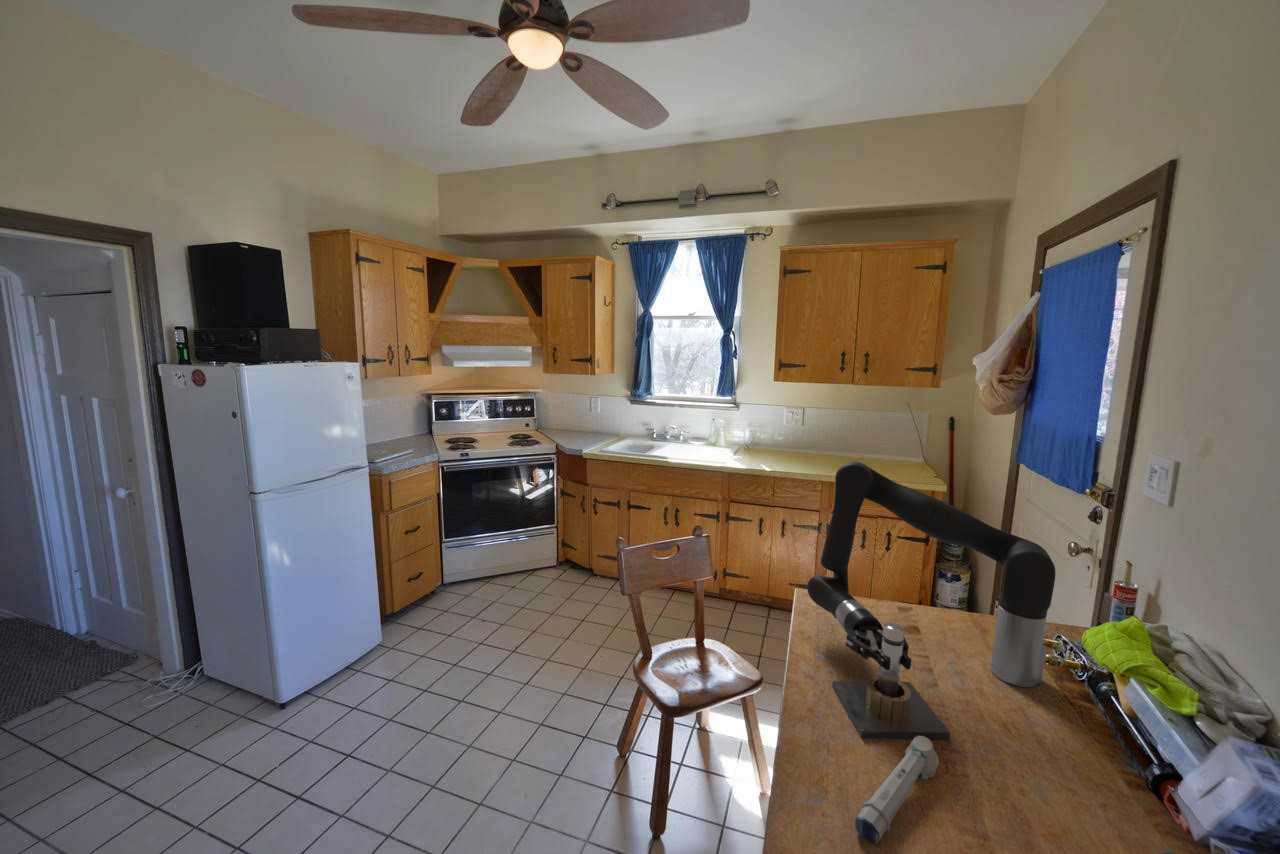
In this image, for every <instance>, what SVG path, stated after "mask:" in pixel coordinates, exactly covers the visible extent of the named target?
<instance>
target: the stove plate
mask: <svg viewBox="0 0 1280 854" xmlns="http://www.w3.org/2000/svg"><path fill="white" fill-rule="evenodd" d="M878 678H879V675H874V676H871V677H870V678H868V679H867V680H864V681H863V680H832V684H831V687H832V689H833V691H834V692H835V695H836V696H837V697H838V699H839V701H840V703H841V705H842V707H843V708H844V710H845V712H846V714H847V715H848V717H849V719H850V721H851V722H852V725H853V726H854V728H855V730H856V732H857V733H858V735H859V737H860V738H861V739H897V740H898V739H901V740H903V739H905V740H909V739H910V740H913V739H914V738H915V737H917V736H924V737H926V738H928V739H929V740H950V738H951V732H950V730H949V729H948V727H946V725H945V724H944V722H943V721H942V720H941V719H940V718H939V717H938V716H937V714H936V713H935V711H934V710H933V709H932V708H931V706H930V705H929V704H928V703H927V702H926V700H925V699H924V698H923V696H922V695H921V694H920V693H919V691H918V690H917V689H916V688H915V687H914V686H913V684H912V682H910V681H900V680H899V687H898V697H897V698H896V697H889V696H886V695H883V694H882V693H880V692H878V691H877V688H878Z"/></svg>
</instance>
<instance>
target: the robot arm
mask: <svg viewBox="0 0 1280 854" xmlns="http://www.w3.org/2000/svg"><path fill="white" fill-rule="evenodd" d="M834 476H835V477H834V479H835V481H834V482H835V488H834V503H833V510H832V516H831V520H830V523H829V527H828V531H827V534H826V536H825V541H824V545H823V549H822V553H821V557H820V558H821V559H820V564H821V566H822V567H823V568H824V569H826V570H828V571H830V572H832V573H833V576H832V577H831V576H826V575H825V576H824V575H813V576H812V577H810V579H809V580H808V582H807V585H806V586H807V588H806V589H807V594H808V595H809V597H810V599H811V600H812V602H813V603H815V604H816V605H818V606H819V607H821V608H822V609H823V610H825V611H827V612H828V613H830V614H831V615H832V616H833V618H834V619H835V620H836V621H837V622H838V623H839V625H840V627H841V628H842V629H843V631H845V633H847V634H846V636H845V637H846V639H845V646H846V647H847V648H849V649H850V650H851V651H853V652H854V653H856V654H857V655H859V656H860V657H862V658H863V659H864V660H865V659H866V660H868V659H869V658H871V660H874V661H875V662H876V663H877V664H878V665H879V667H880V666H881V667H883V668H884V669H885V670H889V669H890V660H889V659H888V658H887V657H886V656H885V655H884V654H883V653H882V652H881V648H882V636H883V629H884V626H883V625H882V624H881V622H880V621H879V620H878V619H877V617H875V615H874V614H872V613H871V612H870V611H869V609H867V608H866V606H864V605H863V604H861V603H860V602H859V601H857V600H856V599H855V598H854V596H852V595H851V594H850V593H849V592H850V590H849V589H850V587H849V570H848V569H849V564H850V560H851V555H852V550H853V546H854V541H855V535H856V534H855V533H856V526H857V521H858V518H859V514H860V510H861V508H862V506H863V503H864V501H865V499H866V500H868V501H871V502H873V503H875V504H876V505H879V506H881V507H883V508H884V509H887V510H888V511H889V512H891V513H892V514H893V515H895V516H896V517H897V518H899V519H900V520H902V521H903V522H904V523H907V524H908V525H909V526H911V527H913V528H914V529H916V530H917V531H919V532H922V533H924V534H925V535H928V536H929V537H932V538H934V539H936V540H938V541H941V542H943V543H946V544H951V545H954V546H958V547H962V548H963V547H964V548H967V549H970V550H973V551H975V552H979V553H980V554H982V555H984V556H986V557H988V558H989V559H991V560H993V561H995V562H996V563H998V564H1000V565H1001V566H1003V567H1004V568H1005V569H1004V578H1003V583H1002V590H1001V592H1000V594H999V597H998V607H997V615H996V623H995V630H994V638H993V645H992V652H991V653H992V654H991V661H990V672H991V673H992V674H993V675H994V676H995V677H996V678H998V679H1000V680H1001V681H1003V682H1005V683H1008V684H1009V685H1013V686H1017V687H1021V688H1033V687H1035V686H1037V684H1042V681H1043V674H1044V666H1045V658H1046V653H1047V646H1046V645H1045V644H1044V643H1043V642H1044V636H1045V631H1046V630H1045V628H1046V622H1047V615H1048V610H1049V609H1050V607H1051V604H1052V599H1053V593H1054V587H1055V582H1056V567H1055V564H1054V562H1053V560H1052V558H1051V557H1050V555H1049V554H1048V552H1047V550H1045V549H1044V548H1043V547H1042V546H1041V545H1040V544H1038V543H1036V542H1033V541H1031V540H1029V539H1026V538H1023V537H1020V536H1017V535H1014V534H1012V533H1009V532H1007V531H1003V530H1001V529H998V528H996V527H994V526H991V525H989V524H987V523H985V522H984V521H982V520H980V519H978V518H977V517H974V516H972V514H968V513H967V512H965V511H963V510H961V509H959V508H957V507H955V506H953V505H951V504H949V503H947V502H945V501H943V500H941V499H939V498H936V497H934V496H931V495H929V494H926V493H924V492H922V491H919V490H917V489H914V488H911V487H909V486H906V485H902V484H900V483H898V482H896V481H893V479H890V478H888V477H886V476H885V475H883V474H881V473H879V472H878V471H876V470H874V469H872V468H871V467H869V466H868V465H866V463H865V464H864V463H863V462H860V461H849V462H848V461H847V462H846V463H844V464H843V465H841V466H840V467H839V468H838V470H837V471H836V474H835V475H834ZM909 648H910V647H909V644H908V642H907V640H906V637H905V636H904V644H903V651H902V660H901V666H903V668H904V669H905V670H910V669H911V666H912V658H911V657H909Z"/></svg>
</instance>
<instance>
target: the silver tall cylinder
mask: <svg viewBox="0 0 1280 854" xmlns="http://www.w3.org/2000/svg"><path fill="white" fill-rule="evenodd" d="M905 630H906V629H905V628H904V627H903V626H902V625H900V624H898V623H895V622H885V623H883V636H882V648H881V650H880V651H881V652H882V653H883V654H884V655H885V656H886V657H887V658H888V659H889V660H890V669H889V670H885V669H884V668H883V667H881V666H880V665H879V668H878V669H879V670H878V676H879V678H878V688H877V691H878V692H880V693H882V694H883V695H886V696H889V697H896V698H897V697H898V687H899V681H900V677H901V675H900V674H901V669H902V667H901V666H902V664H901V660H902V651H903V644H904V637H905Z"/></svg>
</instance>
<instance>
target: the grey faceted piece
mask: <svg viewBox="0 0 1280 854" xmlns="http://www.w3.org/2000/svg"><path fill="white" fill-rule="evenodd" d="M904 752H905V756H904V757H903V758H902V759H901V760H900V762H899V763H898V764H897V766H896V767H895V768H894V769H893V771H892V772H890V774H889V775H888V777H887V778H886V779H885V780H884V782H883V783H882V784H881V785H880V786H879V788H878V789H877V790H876V791H875V792H874V794H873V795H872V796H871V798H870V799H869V800H868V801H866V802H863V803H862V809H861V811H860V812H859V814H858V815H857V817H855V819H854V828H855V829H856V831H857V833H858V834H859V835H860V837H862V838H863V837H864V838H863V839H865V840H866V841H867V842H869V843H870V844H871V845H877V844H878V843H879V842H880V840H881V839H882V838H883V835H884V834H885V832H889V831H891V824H892V821H893V820H894V818H895V816H896V815H897V812H898V811H899V809H900V808H901V806H902V804H903V802H904V801H905V799H906V798H907V796H908V794H909V793H910V792H911V789H912V788H913V786H914V784H915V782H916V781H917V779H922V780H928V779H930V778H932V779H933V778H934V777H935V776H936V773H937V768H938V767H939V763H940V761H939V755H938V753H937V752H936V751H935V749H934V744H933V742H932V741H931V739H928V738H926V737H924V736H917V737H915V738H914V739H912V741H911V742H910V744H909V745H908V747H907V748H906V749H905V751H904Z"/></svg>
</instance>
